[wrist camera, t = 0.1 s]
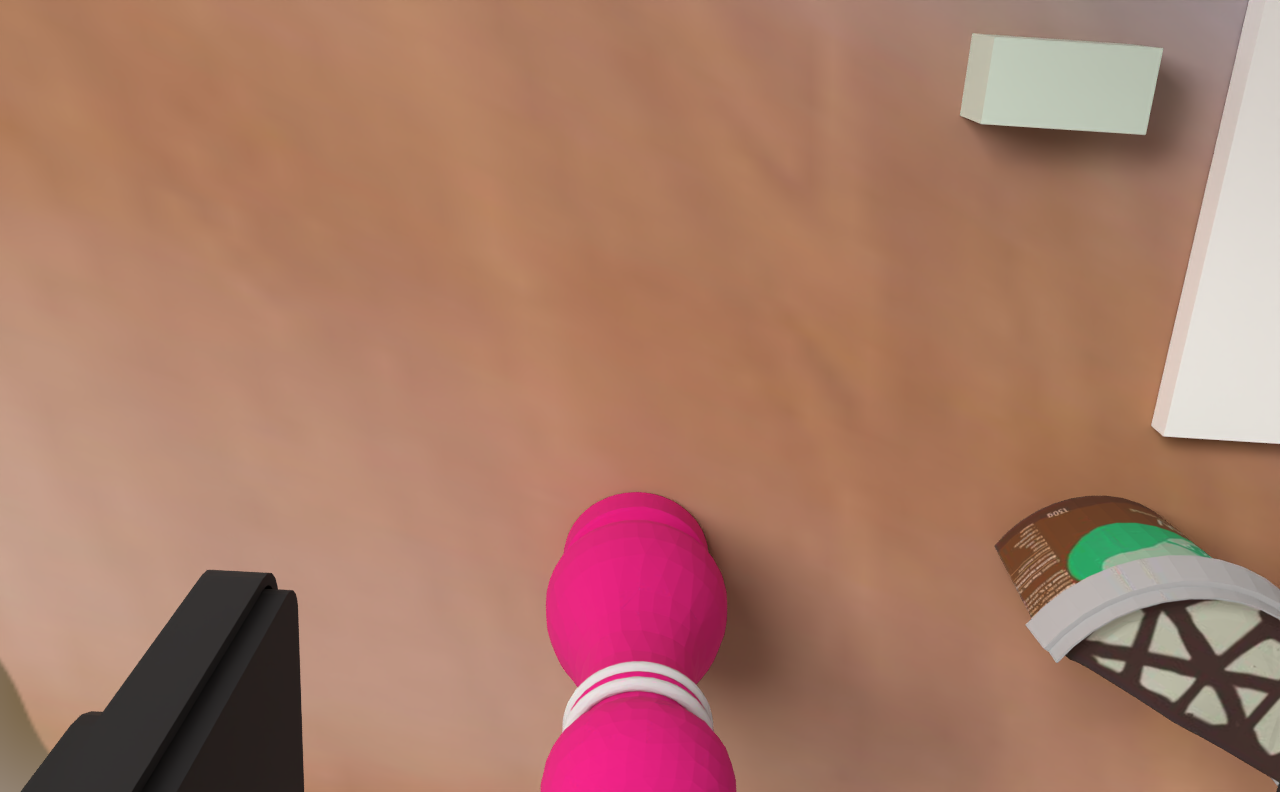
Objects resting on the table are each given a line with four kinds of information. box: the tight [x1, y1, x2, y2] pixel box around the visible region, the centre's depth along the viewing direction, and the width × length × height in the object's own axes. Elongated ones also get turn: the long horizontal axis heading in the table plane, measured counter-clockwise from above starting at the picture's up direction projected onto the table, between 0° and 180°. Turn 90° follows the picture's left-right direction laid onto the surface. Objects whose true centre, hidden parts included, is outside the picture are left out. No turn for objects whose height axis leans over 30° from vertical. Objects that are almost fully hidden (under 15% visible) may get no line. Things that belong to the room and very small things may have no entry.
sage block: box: [960, 33, 1163, 135], centre depth 43 cm, size 6×3×3 cm, turn 86°
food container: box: [995, 496, 1280, 786], centre depth 46 cm, size 12×6×10 cm, turn 58°
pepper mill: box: [541, 492, 736, 792], centre depth 42 cm, size 7×7×20 cm
